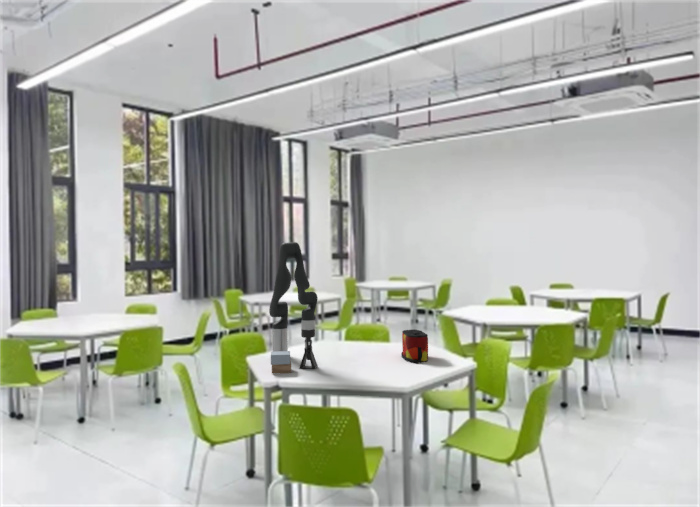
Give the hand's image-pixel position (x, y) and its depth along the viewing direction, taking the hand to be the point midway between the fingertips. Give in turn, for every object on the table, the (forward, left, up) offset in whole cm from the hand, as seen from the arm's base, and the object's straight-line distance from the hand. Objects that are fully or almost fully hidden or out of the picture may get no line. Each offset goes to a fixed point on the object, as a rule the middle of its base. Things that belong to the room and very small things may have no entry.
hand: (308, 358), depth 285 cm
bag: (-14, +63, -5) cm, 65 cm away
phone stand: (0, 0, -5) cm, 5 cm away
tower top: (+6, -15, 0) cm, 16 cm away
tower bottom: (+6, -15, -5) cm, 17 cm away
